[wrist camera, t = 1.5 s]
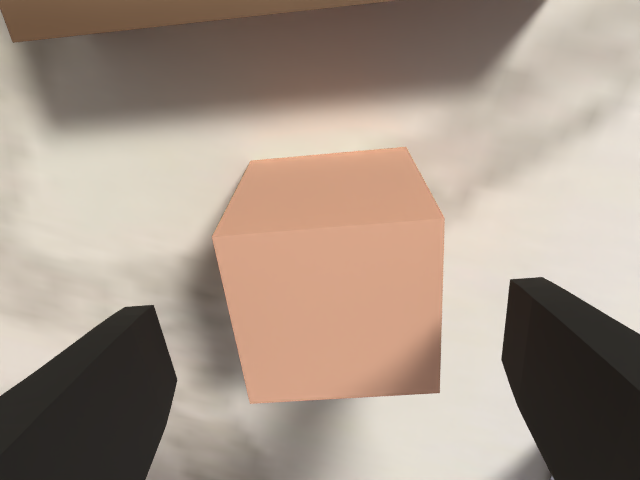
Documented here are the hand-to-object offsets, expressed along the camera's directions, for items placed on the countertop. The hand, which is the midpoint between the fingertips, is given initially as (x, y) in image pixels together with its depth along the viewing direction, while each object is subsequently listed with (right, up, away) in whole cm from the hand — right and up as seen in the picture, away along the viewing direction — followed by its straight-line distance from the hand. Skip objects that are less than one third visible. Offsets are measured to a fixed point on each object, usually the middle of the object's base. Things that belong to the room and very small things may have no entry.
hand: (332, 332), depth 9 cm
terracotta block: (0, +2, +5) cm, 5 cm away
